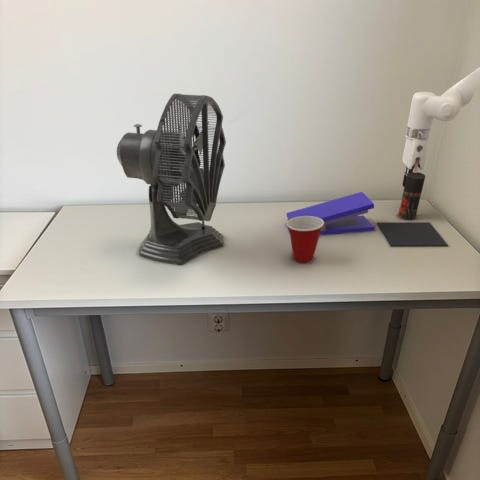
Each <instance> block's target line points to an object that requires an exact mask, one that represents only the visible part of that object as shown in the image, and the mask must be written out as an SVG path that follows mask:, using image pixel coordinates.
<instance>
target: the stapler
mask: <svg viewBox="0 0 480 480" xmlns="http://www.w3.org/2000/svg"><path fill="white" fill-rule="evenodd" d="M372 209H375V203H374V202H373V201H372V200H371V199H370V198H369V196H367V195H366V194H365V193H364V192H363V191H360V192H357V193H353V194H349V195H346V196H342V197H339V198H335V199H331V200H327V201H325V202H321V203H317V204H314V205H310V206H307V207H303V208H300V209H296V210H292V211H289V212H286V219H287V221H288V220H290V219H291V218H295V217H300V216H313V217H318V218H320V219H322V220H323V221H324V224H323V227H322V229H321V232H320V235H319V236H321V235H332V234H333V235H334V234H346V233H357V232H370V231H375V229H376V226H375V225H374V224H373V223H372V222H371V221H370V220H369V219H368V218H367V217H366V216H365V214H368V213H369V210H372Z"/></svg>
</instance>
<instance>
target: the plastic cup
mask: <svg viewBox="0 0 480 480" xmlns="http://www.w3.org/2000/svg"><path fill="white" fill-rule="evenodd" d="M323 224H324V221H323V220H322V219H320V218H318V217H313V216H300V217H295V218H291V219H290V220H288V219H287V221H286V226H287V228H288V231H289V236H290V245H291V251H292V258H293V260H294V261H295V262H296V263H300V264H308V263H311V262H312V261H313V259H314V256H315V252H316V250H317V246H318V243H319V238H320V236H321V235H320V232H321V229H322V227H323Z"/></svg>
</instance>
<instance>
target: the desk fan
mask: <svg viewBox="0 0 480 480" xmlns="http://www.w3.org/2000/svg"><path fill="white" fill-rule="evenodd" d="M199 118H201V120H199ZM214 119H216V120H215V121H214ZM223 120H224V115H223V113H222V110H221V108H220V106H219V104H218V103H217V101H216V100H215V99H214V98H213V97H211V96H210V95H205V94H204V95H203V94H201V95H199V94H182V93H173V94H171V96H170V97H169V99H168V100H167V102H166V103H165V106H164V109H163V111H162V114H161V115H160V119H159V120H158V121H159V122H158V125H157V128H156V129H148V130H146V131H145V132H144V133H141V127H143V125H142V124H140V123H135V124H134V125H133V128H135V129H136V132H126V133H125V134H124V135H123V136H122V137H121V139H120V140H119V142H118V143H117V146H116V158H117V161H118V162H119V164H120V166H121V167H122V169H123V170H122V171H123V173H124V175H125V176H126V178H129V179H138V180H142V181H144V182H145V184H146V185H149V186H148V204H149V215H150V228H149V231H148V232H147V235H146V237H145V238H144V239H143V241H142V242H141V244H140V246H139V250H138V254H139V257H142V258H145V259H148V260H151V261H154V262H158V263H162V264H163V263H164V264H169V265H176V266H177V265H178V266H181V265H184V264H185V263H187V262H188V261H189V260H191V259H193V258H195V257H197V256H199V255H201V254H203V253H207V252H208V251H212V250H215V249H219V248H222V247H224V243H223V241H222V238H223V234H222V233H221V232H219V231H218V230H217V229H216V228H215V227H213V226H212V225H207V224H205V221H206V222H210V221H211V220H212V217H213V213H214V210H215V208H216V206H217V202H218V201H217V200H218V195H219V190H220V184H221V181H222V177H223V174H224V170H225V166H226V163H225V158H224V151H225V147H226V145H227V142H226V136H225V132H224V129H223ZM210 121H211V123H210ZM200 123H201V126H199V125H200ZM212 123H213V124H212ZM213 126H214V127H213ZM210 141H212V143H210ZM167 210H168V211H169V212H170V214H171V216H172V217H171V216H170V215H169V212H168V211H167ZM172 218H173V219H183V220H184V219H185V220H194V221H196V222H190V223H183V224H178V223H177V222H175V221H174V220H173V219H172Z"/></svg>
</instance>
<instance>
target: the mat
mask: <svg viewBox="0 0 480 480" xmlns="http://www.w3.org/2000/svg"><path fill="white" fill-rule="evenodd" d="M376 224H377V225H378V227H379V229H380V230H381V233H382V234H383V236H384V238H385V239H386V241H387V242H388V244H389V246H390V247H394V248H395V247H397V248H398V247H448V246H449V245H448V244H447V242H446V241H445V240H444V238H443V237H442V236H441V234H439V233H438V230H437V229H435V228H434V226H433V224H431V222H430V221H426V222H423V221H420V222H418V221H416V222H415V221H414V222H413V221H412V222H411V221H410V222H408V221H407V222H405V221H403V222H402V221H401V222H399V221H398V222H397V221H396V222H394V221H393V222H391V221H390V222H388V221H387V222H386V221H385V222H376Z"/></svg>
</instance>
